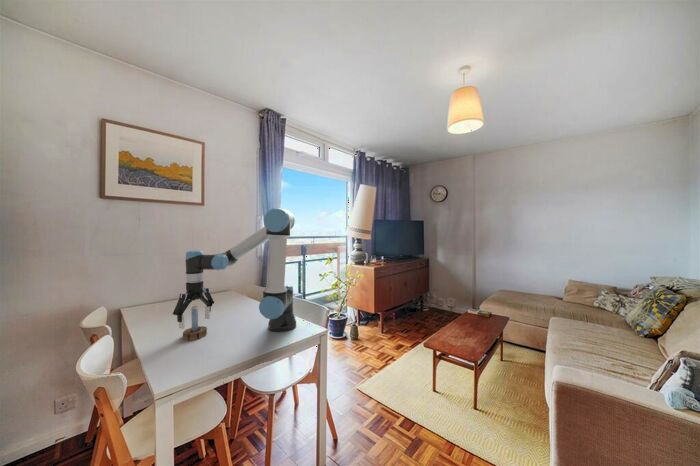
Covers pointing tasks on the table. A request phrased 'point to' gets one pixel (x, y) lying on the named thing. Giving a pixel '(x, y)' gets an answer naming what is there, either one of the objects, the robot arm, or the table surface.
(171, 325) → the table surface
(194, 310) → the dowel
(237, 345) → the table surface
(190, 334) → the wooden gear
